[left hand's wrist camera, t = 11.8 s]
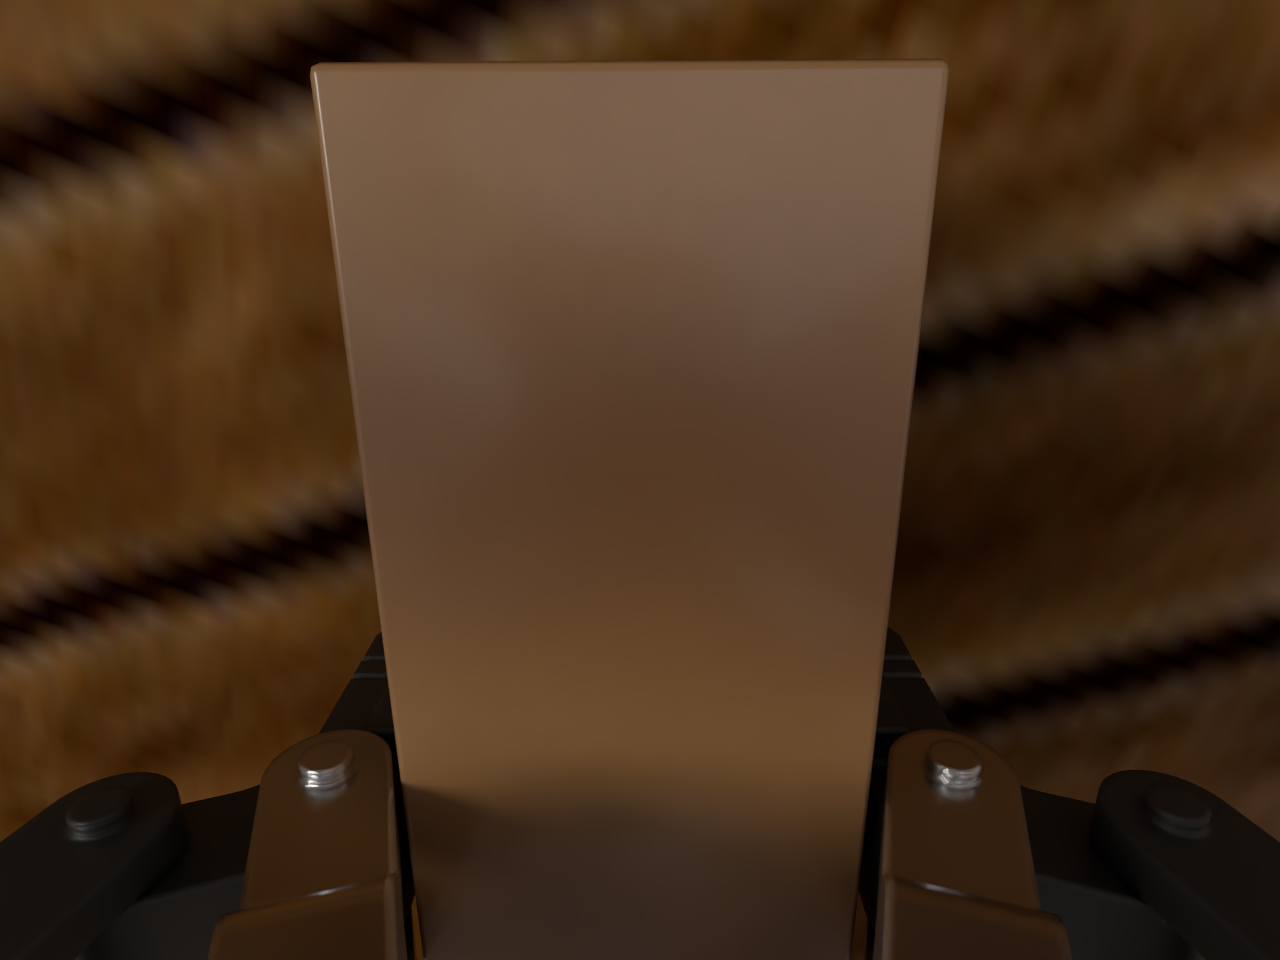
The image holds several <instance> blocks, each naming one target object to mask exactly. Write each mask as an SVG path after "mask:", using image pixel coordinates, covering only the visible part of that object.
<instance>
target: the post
mask: <svg viewBox="0 0 1280 960" xmlns="http://www.w3.org/2000/svg"><path fill="white" fill-rule="evenodd" d="M310 78H311V86H312V94H313V101H314V109H315V117H316V125H317V133H318V140H319V148H320V156H321V164H322V171H323V179H324V187H325V195H326V203H327V210H328V218H329V226H330V234H331V241H332V249H333V257H334V265H335V273H336V280H337V288H338V296H339V304H340V311H341V319H342V327H343V335H344V343H345V350H346V358H347V366H348V374H349V381H350V389H351V397H352V405H353V413H354V420H355V428H356V436H357V444H358V451H359V459H360V467H361V475H362V483H363V490H364V498H365V506H366V514H367V521H368V529H369V537H370V545H371V553H372V560H373V568H374V576H375V584H376V591H377V599H378V607H379V615H380V623H381V630H382V638H383V646H384V654H385V661H386V669H387V677H388V685H389V693H390V700H391V708H392V716H393V724H394V731H395V739H396V747H397V755H398V763H399V770H400V778H401V786H402V794H403V801H404V809H405V817H406V825H407V833H408V840H409V848H410V856H411V864H412V872H413V879H414V887H415V895H416V903H417V910H418V918H419V926H420V934H421V942H422V949H423V957H424V960H851V952H852V943H853V934H854V925H855V916H856V907H857V898H858V889H859V880H860V871H861V862H862V853H863V844H864V835H865V826H866V817H867V808H868V799H869V790H870V781H871V772H872V763H873V754H874V745H875V736H876V727H877V718H878V709H879V700H880V691H881V682H882V673H883V664H884V655H885V646H886V637H887V628H888V619H889V610H890V601H891V592H892V583H893V574H894V565H895V556H896V547H897V538H898V529H899V520H900V511H901V502H902V493H903V484H904V475H905V466H906V457H907V448H908V439H909V430H910V421H911V412H912V403H913V394H914V385H915V376H916V367H917V358H918V349H919V340H920V331H921V322H922V313H923V304H924V295H925V286H926V277H927V268H928V259H929V250H930V241H931V232H932V223H933V214H934V205H935V196H936V187H937V178H938V169H939V160H940V151H941V142H942V133H943V124H944V115H945V106H946V97H947V88H948V79H949V68H948V63H947V62H945V61H943V60H941V59H829V60H665V61H500V62H336V63H318V64H316V65H314V66H312V67H311V73H310Z"/></svg>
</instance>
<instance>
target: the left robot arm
mask: <svg viewBox="0 0 1280 960" xmlns="http://www.w3.org/2000/svg"><path fill="white" fill-rule="evenodd" d="M858 890H859V893H860V897H861V900H862V903H863V906H864V909H865V913H866V915H867V924H866V932H865V944H864V958H863V960H1280V842H1278V841H1277V840H1276V839H1274V838H1273V837H1272V836H1270V835H1269V834H1268V833H1266V832H1265V831H1264V830H1262V829H1261V828H1260V827H1258V826H1257V825H1255V824H1254V823H1253V822H1251V821H1250V820H1249V819H1247V818H1246V817H1245V816H1243V815H1242V814H1241V813H1239V812H1238V811H1237V810H1235V809H1234V808H1233V807H1231V806H1230V805H1229V804H1227V803H1226V802H1224V801H1223V800H1222V799H1220V798H1219V797H1217V796H1216V795H1214V794H1212V793H1211V792H1209V791H1207V790H1205V789H1203V788H1201V787H1199V786H1197V785H1195V784H1193V783H1191V782H1188V781H1186V780H1183V779H1180V778H1177V777H1174V776H1171V775H1167V774H1164V773H1159V772H1154V771H1145V770H1126V771H1120V772H1117V773H1114V774H1111V775H1110V776H1108V777H1106V778H1105V779H1104V780H1103V782H1102V783H1101V785H1100V788H1099V791H1098V795H1097V799H1096V803H1095V804H1093V803H1089V802H1084V801H1080V800H1075V799H1071V798H1066V797H1062V796H1057V795H1053V794H1048V793H1044V792H1040V791H1036V790H1032V789H1028V788H1025V787H1023V786H1020V783H1019V779H1018V776H1017V774H1016V772H1015V770H1014V768H1013V767H1012V766H1011V764H1010V763H1009V762H1008V761H1007V760H1006V759H1005V758H1004V757H1003V756H1002V755H1001V754H1000V753H998V752H997V751H996V750H994V749H993V748H991V747H990V746H988V745H986V744H984V743H983V742H981V741H979V740H976V739H974V738H972V737H969V736H966V735H963V734H960V733H955V731H954V729H953V727H952V726H951V724H950V722H949V720H948V719H947V717H946V715H945V714H944V712H943V710H942V708H941V707H940V705H939V703H938V702H937V700H936V698H935V696H934V695H933V693H932V691H931V689H930V688H929V686H928V684H927V683H926V681H925V679H924V678H921V672H920V670H919V669H918V667H917V665H916V664H915V662H914V660H911V655H910V653H909V651H908V650H907V648H906V646H905V645H904V643H903V641H902V639H901V638H900V636H899V635H898V634H897V633H896V632H894V631H893V630H892V629H890V628H889V627H888V628H887V637H886V646H885V655H884V664H883V673H882V682H881V691H880V700H879V709H878V718H877V727H876V736H875V745H874V754H873V763H872V772H871V781H870V790H869V799H868V808H867V817H866V826H865V835H864V844H863V853H862V862H861V871H860V880H859V889H858ZM414 896H415V887H414V879H413V872H412V864H411V856H410V848H409V840H408V833H407V825H406V817H405V809H404V801H403V794H402V786H401V778H400V770H399V763H398V755H397V747H396V739H395V731H394V724H393V716H392V708H391V700H390V693H389V685H388V677H387V669H386V661H385V654H384V646H383V638H382V632H381V633H380V634H378V635H377V636H376V638H375V639H374V641H373V643H372V644H371V646H370V648H369V650H368V651H367V653H366V655H365V656H364V661H361V663H360V665H359V667H358V668H357V670H356V672H355V673H354V679H351V680H350V682H349V683H348V685H347V687H346V689H345V690H344V692H343V694H342V695H341V697H340V699H339V700H338V702H337V704H336V706H335V707H334V709H333V711H332V712H331V714H330V716H329V717H328V719H327V721H326V723H325V724H324V726H323V728H322V729H321V731H320V733H319V734H317V735H314V736H311V737H308V738H306V739H304V740H302V741H299V742H297V743H296V744H294V745H292V746H290V747H289V748H287V749H286V750H284V751H283V752H282V753H280V754H279V755H278V756H277V757H276V758H275V759H274V760H273V761H272V762H271V763H270V764H269V766H268V767H267V768H266V770H265V772H264V774H263V776H262V779H261V783H260V785H257V786H255V787H252V788H249V789H246V790H243V791H239V792H235V793H231V794H226V795H222V796H217V797H213V798H208V799H204V800H199V801H195V802H190V803H186V804H181V801H180V797H179V793H178V790H177V787H176V785H175V784H174V783H173V781H172V780H170V779H169V778H167V777H165V776H163V775H160V774H156V773H149V772H134V773H125V774H120V775H115V776H111V777H107V778H104V779H100V780H98V781H95V782H92V783H90V784H87V785H85V786H83V787H81V788H78V789H76V790H74V791H72V792H71V793H69V794H67V795H65V796H63V797H62V798H60V799H59V800H57V801H56V802H54V803H53V804H51V805H50V806H49V807H47V808H46V809H45V810H43V811H42V812H41V813H39V814H38V815H37V816H35V817H34V818H33V819H31V820H30V821H29V822H27V823H26V824H24V825H23V826H22V827H20V828H19V829H18V830H16V831H15V832H14V833H12V834H11V835H10V836H8V837H7V838H6V839H4V840H3V841H2V842H0V960H417V957H416V943H415V932H414V924H413V916H412V908H411V905H412V902H413V899H414Z"/></svg>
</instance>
